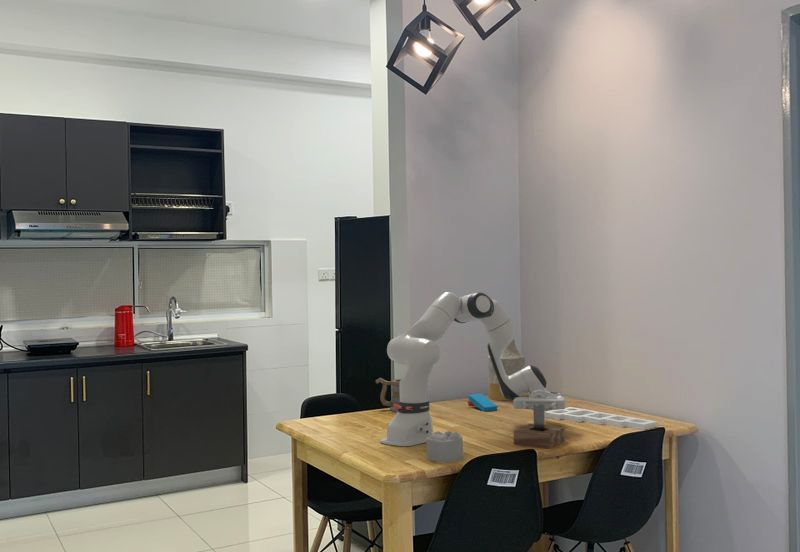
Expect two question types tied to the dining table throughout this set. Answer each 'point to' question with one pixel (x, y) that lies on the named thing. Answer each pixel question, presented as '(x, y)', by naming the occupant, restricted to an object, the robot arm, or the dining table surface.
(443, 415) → the dining table surface
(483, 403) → the blue and red block
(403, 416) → the robot arm
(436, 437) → the lumpy-topped squat cylinder
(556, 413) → the holder
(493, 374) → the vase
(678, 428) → the dining table surface
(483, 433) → the dining table surface
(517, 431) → the socket block
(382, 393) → the tankard
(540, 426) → the dark grey rounded rod
